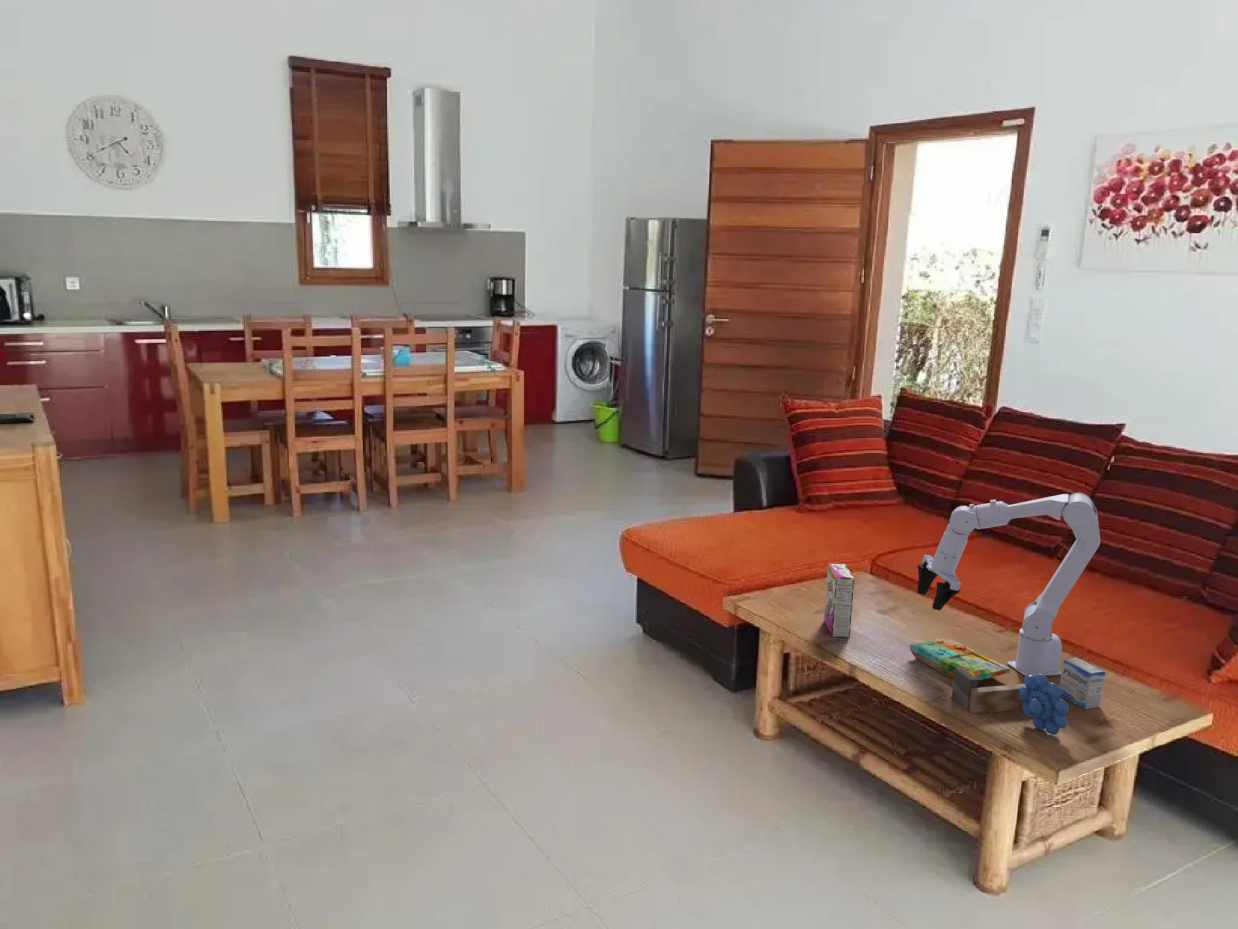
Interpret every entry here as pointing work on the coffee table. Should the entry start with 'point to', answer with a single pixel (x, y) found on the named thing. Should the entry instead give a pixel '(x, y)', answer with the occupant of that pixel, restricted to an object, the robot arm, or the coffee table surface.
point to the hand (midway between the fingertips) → (928, 601)
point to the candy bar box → (839, 600)
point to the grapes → (1044, 703)
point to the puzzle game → (956, 658)
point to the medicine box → (1081, 683)
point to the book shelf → (984, 694)
